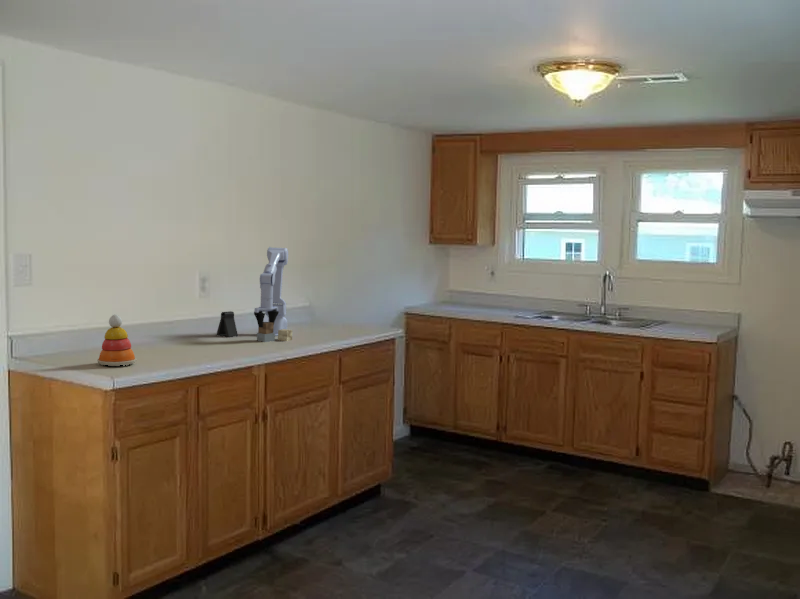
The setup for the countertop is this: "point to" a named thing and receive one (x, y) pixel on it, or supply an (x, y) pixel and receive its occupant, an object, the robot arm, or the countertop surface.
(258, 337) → the grey base block
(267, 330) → the walnut cube
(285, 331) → the maple cube
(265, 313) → the robot arm
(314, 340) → the countertop surface
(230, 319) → the phone stand
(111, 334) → the stacking toy
